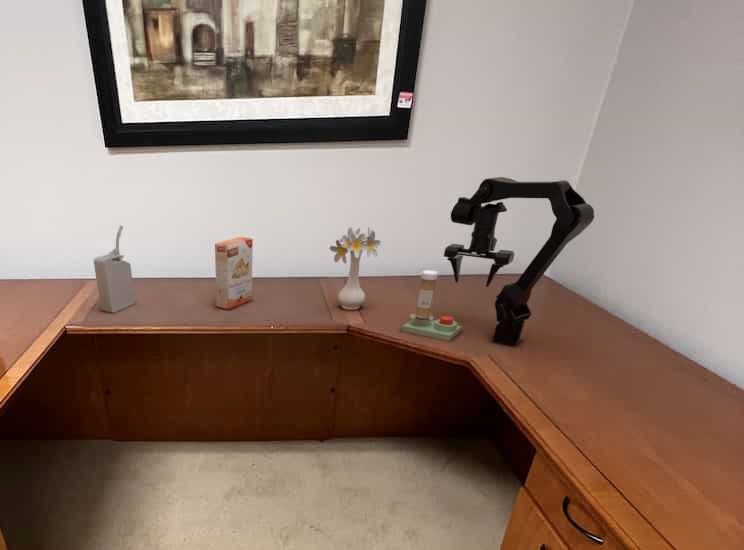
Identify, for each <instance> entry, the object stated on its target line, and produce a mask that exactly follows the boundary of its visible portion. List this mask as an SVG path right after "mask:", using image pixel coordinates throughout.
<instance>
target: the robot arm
mask: <svg viewBox="0 0 744 550" xmlns="http://www.w3.org/2000/svg"><path fill="white" fill-rule="evenodd" d="M507 199H547V200H549V201H548V202H549V203H550V206H551V211H552V214H553V215H554V217H555V221H554V223H553V225H552V227H551V232H550V235H549V237H548V239H547V240H546V241H545V243H544V244H543V246H542V247H541V248H540V249H539V251H538V252H537V253H536V255H535V256H534V257H533V259H532V260H531V262H530V263H529V264H528V266H527V267H526V268H525V270H524V271H523V272H522V274H521V275H520V276H519V277H518V279H517V280H516V282H512V283H508V284H505V285H504V286H503V287H502V289H501V290H500V292H499V293H498V295H496V296H495V298H496V300H495V302H494V308H495V313H496V314H495V315H496V322H498V323H497V324H495V329H494V333H493V338H492V342H493V343H497V344H502V345H507V346H513V347H516V346H517V345H518V344H519V343H520V342H521V340H522V338H521V335H522V333H523V328H524V325H525V322H526V321H527V320H529V319H530V317H531V316H532V311H531V309H530V307H529V305H528V302H529V300H530V298H531V294H532V290H533V288H534V287H535V286H536V284H537V282H539V280H540V279H541V278H542V276H543V275H544V274H545V273H546V272H547V270H548V269H549V267H551V266H552V264H553V262H554V261H555V260H556V259H557V257H558V256H559V255H560V253H561V252H562V251H563V250H564V248H565V247H566V246H567V244H569V243H570V242H571V241H573V240H574V239H575V238H576V237H578V236H579V235H580V234H581V233H583V232H584V231H585V229H587V228H588V227H589V226H590V225H591V224H592V222H593V221H594V219H595V210H594V207H592V205H591V204H589V203H587V202H586V200H585V199H584V197H583V196H581V195H580V194H579V193H578V192H577V191H576V190H575V189H574V188H573V186H572V185H571V184H570V183H569V181H568V180H565V179H564V180H563V179H562V180H556V181H518V180H515V179H513V178H509V177H504V176H498V177H491V178H490V177H489V178H485V179H483V180H482V181H481V183H480V184H479V186H478V189H477V190H476V191H475V193H473V195H472V196H471V198H468V197H466V196H461V197H458V199H457V202H456V203H455V205H454V206H453V207H452V210H451V211H450V221H451V222H452V223H455V224H461V225H465V226H473V230H472V232H471V234H470V237H471V239H470V244H469V247H468V248H465V244H458V243H452V244H449V245H447V246H446V247H445V249H444V251H443V257H445V258H447V261H449V262H450V265H451V268H452V272H453V276H454V281H455V283H458V282H459V280H460V274H461V268H462V267H461V266H462V261H463V259H464V257H473V258H480V259H486V260H487V259H488V260H493V261H494V262H493V263H492V264H491V266H490V269H489V272H488V276H487V280H486V285H485V287H486V288H488V287H489V286H490V284H491V283H492V281H493V279H494V277H495V276H496V274H497V273H498V271H499V270H500V269H501V268H504V267H505V266H508V265H510V264H511V263H513V262H514V258H515V252H514V251H513V250H509V249H508V250H507V249H500V250H497V252H494V251H495V248H496V245H497V242H498V239H497V238H496V237H495V234H496V233H495V232H496V225H497V221H498V218H499V213H505V212H508V208H507V207H506V206H505V204H504V202H503V201H501V200H507ZM496 201H497V202H496ZM498 201H500V202H498ZM492 202H496V203H492Z"/></svg>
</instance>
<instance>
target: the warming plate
mask: <svg viewBox="0 0 744 550" xmlns="http://www.w3.org/2000/svg"><path fill="white" fill-rule="evenodd" d="M415 314H416V312H415V313H412V314H410V315H409V319H410V320H415V321H421V322H427V321H432V320H433V321H434V315H432V314H430V317H429V318H427V319H420V318H417V317H416V316H415Z"/></svg>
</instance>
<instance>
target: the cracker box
mask: <svg viewBox="0 0 744 550" xmlns="http://www.w3.org/2000/svg"><path fill="white" fill-rule="evenodd" d="M253 241H254V239H253V238H250V237H244V236H238V237H234V238H231V239H227V240H224V241H220V242H216V243H214V261H215V264H214V265H215V298H216V307H217V308H220V309H224V310H231V309H233V308H236V307H238V306H241V305H243V304H247V303H248V302H252V301H253V246H254V245H253V243H254V242H253Z"/></svg>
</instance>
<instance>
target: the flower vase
mask: <svg viewBox="0 0 744 550" xmlns="http://www.w3.org/2000/svg"><path fill="white" fill-rule="evenodd" d="M360 231H361V228H357V229H356V230H355V231H354V230H353V228H352V227H349V228H348V229H347V235H346V234H342V237H341V238H340V240H339V239H336V241H335V244H336V246H335V245H330V246H329V250H330V251H331V252H333V253H335V255H334V257H333V261H334V262H335V263H338V262H339V261H340V260H341V261H342V262H343V263H344V264H347V256H346V254H348V252H349V254H350V264H349V272H348V278H347V282H346V283H345V286H344V287H343V288H342V289H341V290H340V291H339V292H338V296H337V300H338V302H339V304H341V308H342V309H344V310H346V311H347V310H349V311H356V310H359V309H360V307H361V305H363V303H365V301H366V293H365V292H364V290H363V288H361V285H360V282H359V272H360V261H361V257H362V255H363V252H364V251H366V255H367V257H370V256H371V254H372V255H373V257H374V258H377V257H378V252H377V249H378V247H380V245H381V241H380V239H376V232H375V231H374V230H373V229H371V228H370V227H369V226H367V234H366V233H365V232H362V233H360Z"/></svg>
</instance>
